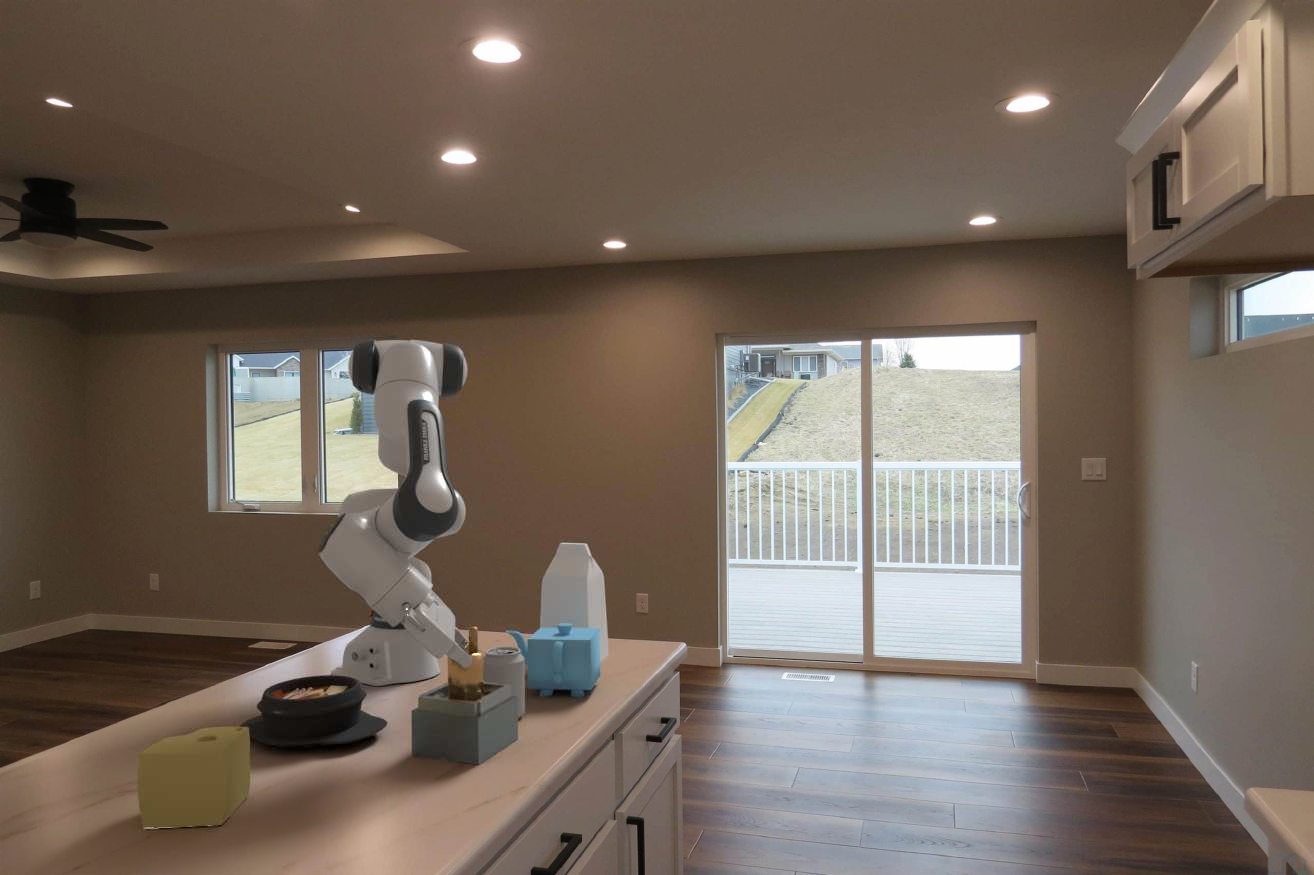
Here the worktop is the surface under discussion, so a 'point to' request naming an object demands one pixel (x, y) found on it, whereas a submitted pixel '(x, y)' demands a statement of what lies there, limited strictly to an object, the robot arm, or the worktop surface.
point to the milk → (575, 592)
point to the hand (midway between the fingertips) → (469, 657)
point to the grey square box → (464, 724)
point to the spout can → (467, 673)
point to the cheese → (194, 778)
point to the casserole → (313, 713)
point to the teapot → (561, 658)
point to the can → (507, 671)
